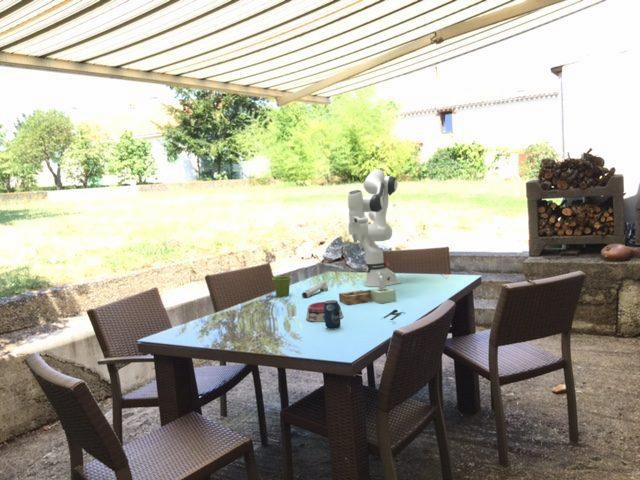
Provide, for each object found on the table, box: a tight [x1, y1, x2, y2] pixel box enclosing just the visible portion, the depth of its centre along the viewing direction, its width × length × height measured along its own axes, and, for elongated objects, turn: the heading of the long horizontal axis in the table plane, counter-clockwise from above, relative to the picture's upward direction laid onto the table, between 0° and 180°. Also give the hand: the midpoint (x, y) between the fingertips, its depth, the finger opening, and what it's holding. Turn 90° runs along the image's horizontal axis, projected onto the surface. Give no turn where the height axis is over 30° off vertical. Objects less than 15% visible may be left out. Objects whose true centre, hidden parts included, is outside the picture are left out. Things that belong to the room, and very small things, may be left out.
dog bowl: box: [305, 301, 344, 323], centre depth 260 cm, size 18×19×7 cm
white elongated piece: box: [301, 280, 329, 299], centre depth 324 cm, size 5×7×25 cm
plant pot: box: [271, 275, 292, 298], centre depth 326 cm, size 12×12×11 cm
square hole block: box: [370, 287, 397, 305], centre depth 288 cm, size 10×10×6 cm
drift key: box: [357, 288, 375, 294], centre depth 295 cm, size 12×2×5 cm, turn 109°
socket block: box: [338, 289, 372, 306], centre depth 293 cm, size 14×12×4 cm
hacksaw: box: [382, 309, 406, 324], centre depth 250 cm, size 24×10×2 cm, turn 148°
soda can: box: [324, 299, 341, 330], centre depth 240 cm, size 7×7×12 cm
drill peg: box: [378, 275, 387, 291], centre depth 288 cm, size 4×4×14 cm
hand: (358, 243), depth 302 cm, fingers open, 8 cm apart
